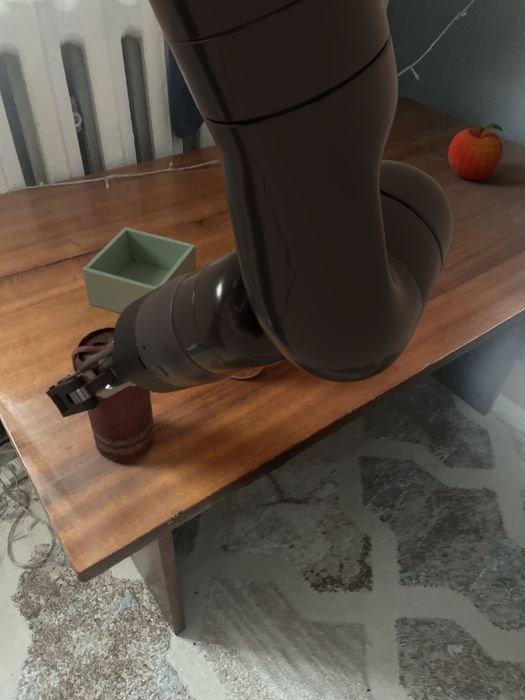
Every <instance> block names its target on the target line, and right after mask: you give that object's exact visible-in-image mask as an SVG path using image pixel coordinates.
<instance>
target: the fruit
mask: <svg viewBox="0 0 525 700" xmlns="http://www.w3.org/2000/svg"><path fill="white" fill-rule="evenodd" d="M492 129H493V130H498V131H501V132H502V133H504V130H503V128H502V127H501V126H500V125H499V124H496V123H493V122H492V123H488V124H486V125H485V126H484V127H483V126H481V125H479V128H465V129H463V130H461V131H459V132H458V133H456V135H455V136H453V139H452V140H451V142H450V144H449V147H448V154H447V156H448V157H447V158H448V164H449V166H450V169H451V171H452V172H453V173H454V174H455V175H456V176H457V177H459V178H461V179H463V180H468V181H478V180H479V181H480V180H483V179H485V178H487V177H488V176H491V174H492V173H493V172H494V171H495V170H496V169H497V168H498V166H499V164H500V162H501V160H502V156H503V151H504V147H503V142H502V141H501V138H500V137H499V136H498V134H496V133H494V132H493V131H490V130H492Z"/></svg>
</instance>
